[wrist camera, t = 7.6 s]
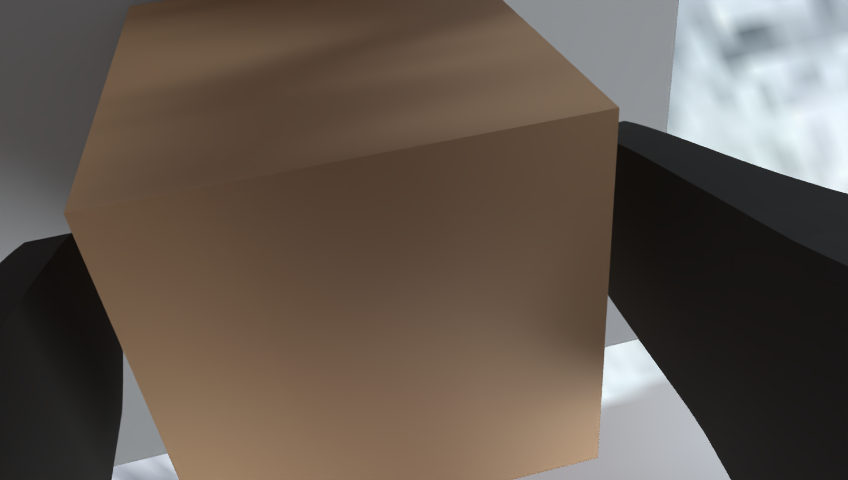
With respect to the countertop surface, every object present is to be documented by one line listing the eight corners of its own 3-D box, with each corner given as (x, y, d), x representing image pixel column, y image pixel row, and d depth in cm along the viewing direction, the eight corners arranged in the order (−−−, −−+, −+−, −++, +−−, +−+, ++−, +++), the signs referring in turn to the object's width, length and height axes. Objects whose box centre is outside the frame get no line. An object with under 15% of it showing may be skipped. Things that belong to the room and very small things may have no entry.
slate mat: (705, -369, 10) (713, -370, 10) (643, 331, 18) (647, 336, 18) (-325, -250, 9) (-335, -249, 9) (79, 467, 16) (78, 474, 16)
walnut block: (453, -46, 12) (618, 107, 7) (471, 219, 15) (597, 457, 10) (129, 6, 11) (64, 212, 6) (213, 272, 14) (212, 556, 9)
